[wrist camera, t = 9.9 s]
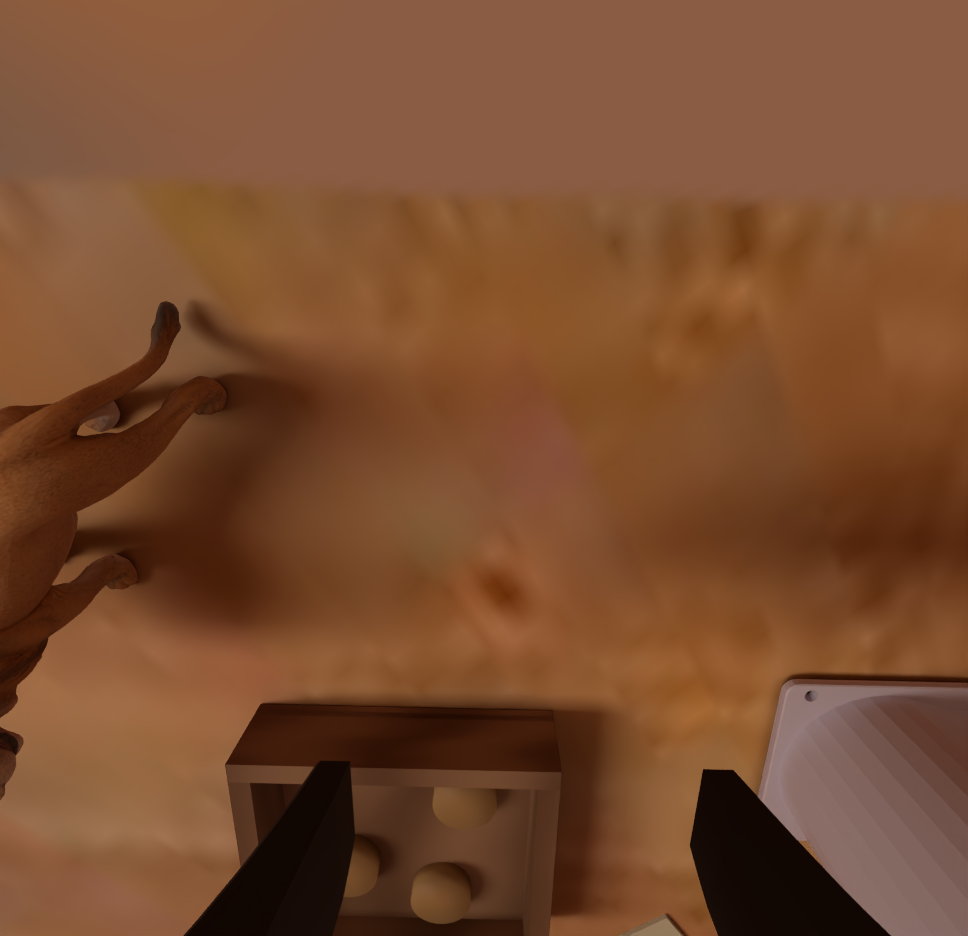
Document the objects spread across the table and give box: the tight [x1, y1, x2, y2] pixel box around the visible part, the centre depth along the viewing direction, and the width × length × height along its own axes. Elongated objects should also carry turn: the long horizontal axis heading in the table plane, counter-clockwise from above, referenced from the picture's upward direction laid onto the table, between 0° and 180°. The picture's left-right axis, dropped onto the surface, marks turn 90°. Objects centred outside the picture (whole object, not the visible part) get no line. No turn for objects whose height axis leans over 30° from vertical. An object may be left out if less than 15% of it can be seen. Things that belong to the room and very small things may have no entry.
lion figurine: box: [0, 301, 227, 800], centre depth 14 cm, size 15×5×9 cm, turn 155°
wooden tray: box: [225, 704, 562, 936], centre depth 22 cm, size 12×12×3 cm
